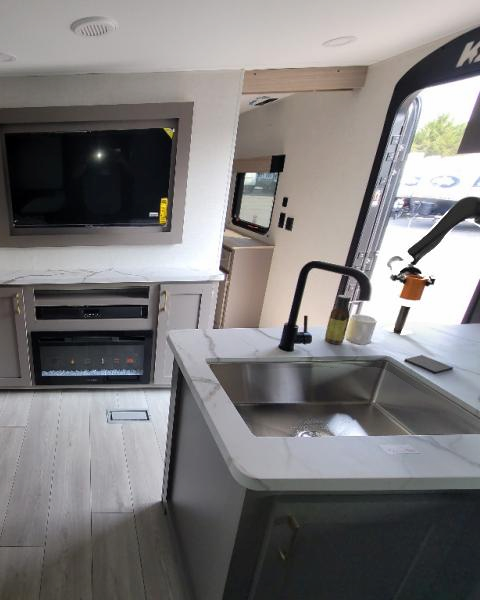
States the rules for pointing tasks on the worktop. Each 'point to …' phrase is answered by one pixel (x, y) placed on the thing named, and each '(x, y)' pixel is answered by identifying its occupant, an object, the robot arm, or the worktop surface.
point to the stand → (400, 321)
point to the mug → (360, 329)
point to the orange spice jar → (412, 287)
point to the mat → (428, 364)
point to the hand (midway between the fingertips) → (416, 282)
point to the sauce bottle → (338, 321)
